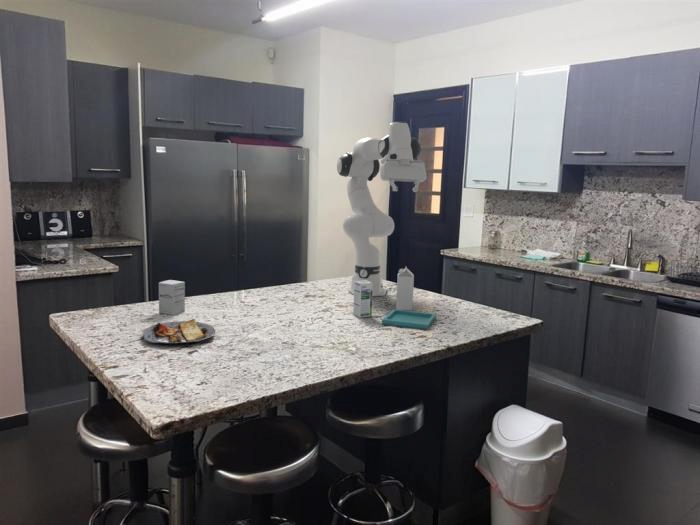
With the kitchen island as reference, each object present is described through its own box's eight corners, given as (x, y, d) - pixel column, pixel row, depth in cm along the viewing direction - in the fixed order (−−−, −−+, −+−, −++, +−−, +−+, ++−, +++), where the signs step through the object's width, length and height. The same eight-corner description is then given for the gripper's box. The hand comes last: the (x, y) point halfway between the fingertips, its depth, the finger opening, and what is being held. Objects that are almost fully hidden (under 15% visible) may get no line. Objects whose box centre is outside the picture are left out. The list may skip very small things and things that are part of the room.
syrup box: (359, 318, 217) (360, 283, 215) (352, 314, 222) (354, 280, 220) (371, 316, 220) (373, 282, 217) (364, 313, 225) (366, 279, 222)
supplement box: (158, 313, 213) (157, 282, 211) (171, 309, 220) (170, 279, 218) (173, 315, 210) (172, 284, 208) (185, 311, 217) (185, 281, 215)
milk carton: (411, 307, 239) (414, 265, 236) (412, 311, 232) (414, 268, 229) (395, 306, 239) (398, 264, 236) (395, 310, 232) (397, 267, 229)
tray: (393, 313, 226) (393, 309, 225) (435, 318, 220) (435, 314, 220) (381, 324, 209) (382, 319, 209) (427, 330, 203) (427, 325, 203)
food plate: (141, 328, 192) (141, 319, 191) (208, 324, 201) (208, 315, 200) (145, 352, 169) (145, 341, 168) (219, 346, 178) (219, 336, 178)
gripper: (420, 162, 229) (423, 194, 227) (377, 160, 221) (380, 192, 219) (427, 157, 223) (431, 189, 221) (383, 155, 215) (387, 188, 213)
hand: (405, 191), depth 220 cm, fingers open, 8 cm apart
